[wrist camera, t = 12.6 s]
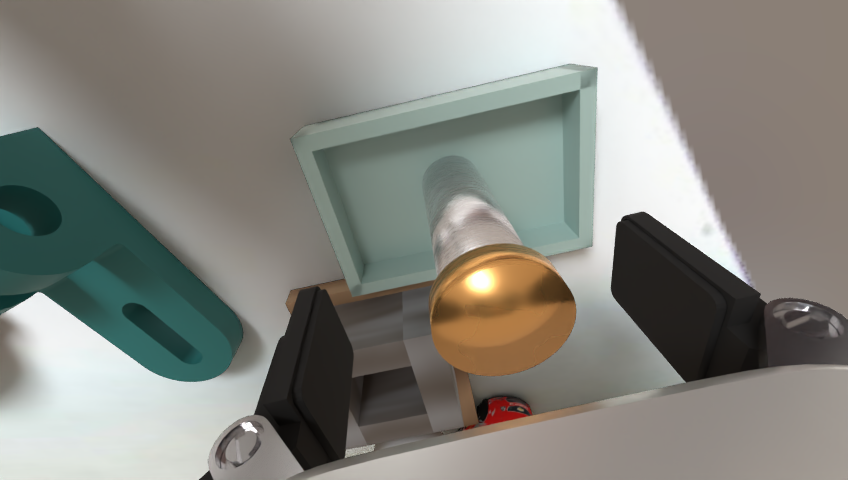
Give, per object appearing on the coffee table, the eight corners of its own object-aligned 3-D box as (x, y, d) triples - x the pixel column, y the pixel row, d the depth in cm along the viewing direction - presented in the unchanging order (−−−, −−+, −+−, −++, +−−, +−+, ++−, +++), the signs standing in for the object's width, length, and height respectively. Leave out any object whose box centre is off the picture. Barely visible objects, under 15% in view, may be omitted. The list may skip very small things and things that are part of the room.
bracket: (-41, 183, 21) (-260, 255, 14) (41, 126, 19) (-154, 173, 13) (195, 369, 29) (132, 471, 22) (262, 337, 28) (218, 434, 21)
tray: (304, 126, 20) (289, 139, 17) (570, 63, 19) (597, 67, 17) (356, 270, 25) (352, 297, 22) (571, 224, 24) (592, 246, 22)
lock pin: (407, 156, 20) (417, 283, 10) (482, 139, 20) (576, 250, 10) (423, 224, 23) (445, 386, 12) (491, 209, 22) (575, 361, 12)
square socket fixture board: (291, 290, 25) (254, 376, 19) (442, 257, 25) (458, 335, 18) (360, 430, 34) (352, 524, 27) (475, 408, 33) (494, 498, 27)
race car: (492, 382, 32) (504, 424, 29) (540, 398, 34) (556, 440, 30) (423, 462, 38) (426, 505, 34) (467, 472, 39) (474, 515, 36)
